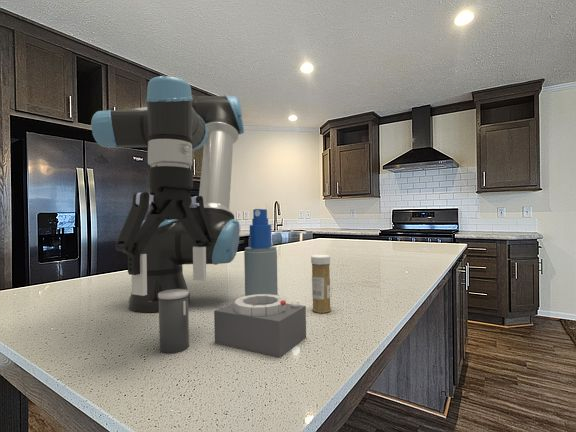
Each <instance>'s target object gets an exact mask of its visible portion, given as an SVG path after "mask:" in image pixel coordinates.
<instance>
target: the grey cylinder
mask: <svg viewBox="0 0 576 432" xmlns="http://www.w3.org/2000/svg"><path fill="white" fill-rule="evenodd" d="M189 293H190V291H189V289H188V290H185V289H171V290H165V291H162V292H159V293H158V298H159V311H158V320H159V321H158V323H159V325H158V329H159V331H158V332H159V335H158V336H159V337H158V338H159V351H160V353H162V354H166V355H167V354H168V355H169V354H178V352H179V353H183V352H184V351H187V350H188V349H189V348H188V347H190V331H189V330H190V325H189V324H190V322H189V321H190V320H189V303H188V295H189ZM187 348H188V349H187Z"/></svg>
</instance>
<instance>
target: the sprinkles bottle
mask: <svg viewBox="0 0 576 432" xmlns="http://www.w3.org/2000/svg"><path fill="white" fill-rule="evenodd" d="M310 257H311V258H310V263H311V290H312V291H311V292H312V293H311V295H312V308H311V309H312V311H313V312H314V313H318V314H326V313H330V312H331V311H332V307H331V277H330V276H331V274H330V272H331V271H330V264H331V256H330V255H328V254H313V255H311V256H310Z"/></svg>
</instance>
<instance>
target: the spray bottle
mask: <svg viewBox="0 0 576 432" xmlns="http://www.w3.org/2000/svg"><path fill="white" fill-rule="evenodd" d="M252 211H253V213H252V218H251V220H252V221H251V222H252V223H251V224H250V225H249V246H247V247H244V253H243V255H244V296H248V295H256V294H271V295H278V289H279V288H278V251H277V247H276V246H272V224H269V218H268V210H267V208H266V209H263V208H255V209H253V210H252Z"/></svg>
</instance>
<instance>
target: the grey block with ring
mask: <svg viewBox="0 0 576 432" xmlns="http://www.w3.org/2000/svg"><path fill="white" fill-rule="evenodd" d="M286 300H287V299H286V297H284V296H281V295H271V294H256V295H248V296H245V295H244V296H241V297H237V298H236V299H235V301H234V302H232V303H229V304H227V305H225V306H222V307H219V308H217V309H215V310H214V311H213V315H214V317H213V319H214V321H213V323H214V324H213V325H214V326H213V327H214V329H213V330H214V344H219V345H223V346H227V347H232V348H237V349H241V350H245V351H249V352H254V353H259V354H264V355H268V356H272V357H277V358H282V356H284V355H285V354H286V353H288V352H289V351H290V350H291V349H293V348H295V347H296V346H297V345H298V344H300V343H301V342H302V341H303V340H305V339H307V309H306V307H307V306H306V305H300V302H298V301H292V302H290V303H287V301H286Z"/></svg>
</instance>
